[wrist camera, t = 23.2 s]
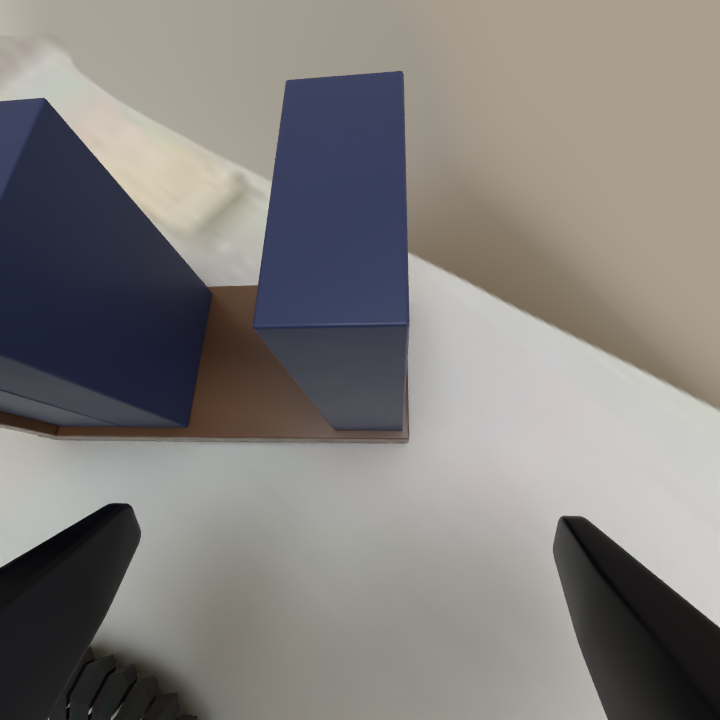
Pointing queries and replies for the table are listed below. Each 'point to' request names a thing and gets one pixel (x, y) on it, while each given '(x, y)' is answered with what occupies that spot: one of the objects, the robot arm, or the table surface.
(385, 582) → the table surface
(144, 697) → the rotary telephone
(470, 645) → the table surface
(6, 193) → the navy books
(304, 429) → the book rack
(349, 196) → the navy book
